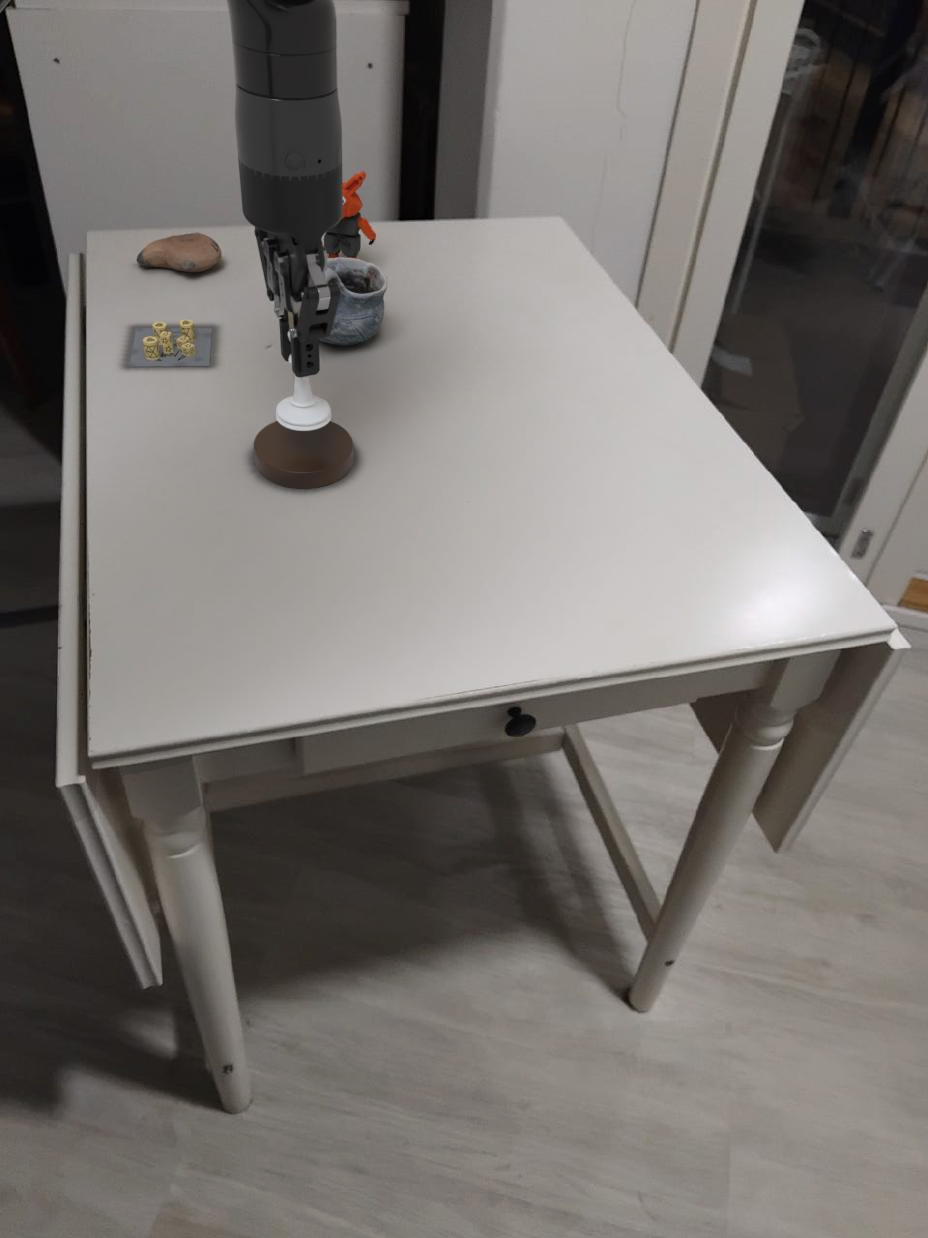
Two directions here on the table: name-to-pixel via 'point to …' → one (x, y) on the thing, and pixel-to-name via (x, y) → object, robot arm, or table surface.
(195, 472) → the table surface
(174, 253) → the brown rounded lump
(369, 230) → the toy animal
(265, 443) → the walnut chip
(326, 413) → the chess piece
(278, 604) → the table surface
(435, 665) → the table surface
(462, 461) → the table surface
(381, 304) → the mug
